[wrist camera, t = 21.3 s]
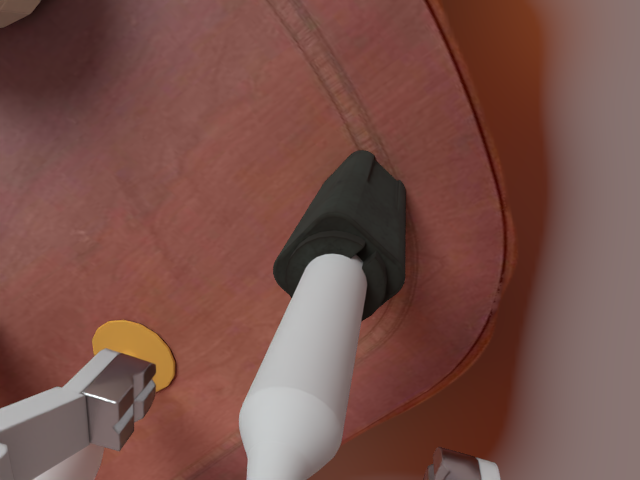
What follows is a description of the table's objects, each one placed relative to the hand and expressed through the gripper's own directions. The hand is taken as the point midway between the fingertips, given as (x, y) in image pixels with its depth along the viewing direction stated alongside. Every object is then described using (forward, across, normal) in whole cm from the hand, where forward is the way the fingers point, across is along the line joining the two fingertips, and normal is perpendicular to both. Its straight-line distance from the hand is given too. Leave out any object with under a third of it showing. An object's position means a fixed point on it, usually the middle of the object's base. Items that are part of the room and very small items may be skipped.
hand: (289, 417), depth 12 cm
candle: (+21, 0, 0) cm, 21 cm away
